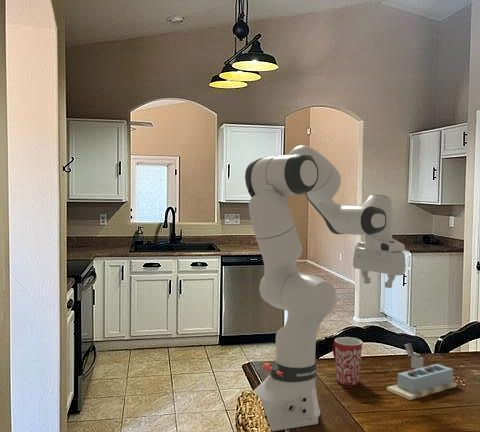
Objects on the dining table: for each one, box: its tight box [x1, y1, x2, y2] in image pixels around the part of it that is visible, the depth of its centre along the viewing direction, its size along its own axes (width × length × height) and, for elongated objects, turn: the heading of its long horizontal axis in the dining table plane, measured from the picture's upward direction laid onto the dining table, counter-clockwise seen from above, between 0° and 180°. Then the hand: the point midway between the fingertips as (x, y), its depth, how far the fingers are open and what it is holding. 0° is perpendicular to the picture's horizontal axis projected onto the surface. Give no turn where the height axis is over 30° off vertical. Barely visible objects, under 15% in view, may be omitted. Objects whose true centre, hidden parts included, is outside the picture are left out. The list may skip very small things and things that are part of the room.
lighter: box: [404, 342, 424, 370], centre depth 180 cm, size 7×2×8 cm, turn 30°
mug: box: [332, 336, 364, 386], centre depth 167 cm, size 13×9×14 cm
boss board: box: [386, 365, 458, 401], centre depth 160 cm, size 22×9×6 cm, turn 121°
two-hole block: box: [397, 363, 454, 393], centre depth 161 cm, size 19×6×4 cm, turn 121°
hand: (377, 285), depth 168 cm, fingers open, 8 cm apart
